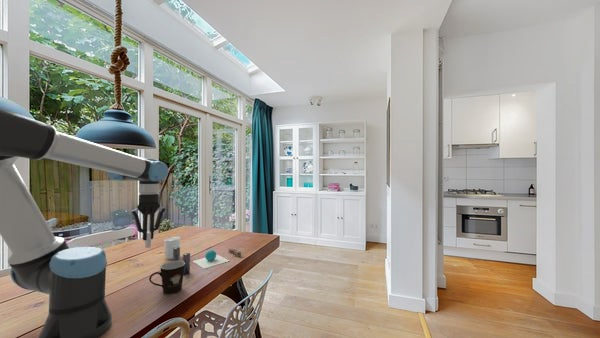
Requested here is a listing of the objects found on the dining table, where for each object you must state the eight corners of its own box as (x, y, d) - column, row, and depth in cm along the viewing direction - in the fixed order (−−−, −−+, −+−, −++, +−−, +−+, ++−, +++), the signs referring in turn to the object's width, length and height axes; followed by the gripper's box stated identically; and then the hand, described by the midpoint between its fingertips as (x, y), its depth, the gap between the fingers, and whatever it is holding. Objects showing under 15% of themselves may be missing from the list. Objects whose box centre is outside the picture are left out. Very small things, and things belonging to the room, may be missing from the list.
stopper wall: (240, 256, 129) (241, 252, 129) (237, 257, 127) (237, 252, 127) (231, 252, 136) (231, 248, 136) (228, 253, 134) (228, 248, 134)
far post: (180, 266, 115) (180, 247, 115) (174, 267, 113) (174, 249, 113) (178, 264, 117) (178, 246, 117) (171, 266, 115) (172, 247, 115)
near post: (190, 273, 106) (191, 254, 106) (184, 275, 104) (184, 255, 104) (188, 271, 108) (188, 252, 108) (181, 273, 106) (181, 254, 106)
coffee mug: (185, 283, 96) (186, 259, 97) (183, 293, 88) (183, 267, 89) (153, 288, 92) (154, 263, 92) (148, 299, 84) (148, 271, 84)
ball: (220, 253, 123) (211, 250, 120) (214, 263, 121) (206, 260, 118) (215, 250, 127) (207, 247, 124) (209, 260, 125) (201, 257, 122)
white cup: (160, 258, 125) (160, 240, 125) (171, 254, 133) (172, 236, 133) (172, 260, 123) (172, 241, 123) (183, 255, 131) (183, 237, 131)
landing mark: (229, 261, 122) (229, 260, 122) (203, 268, 111) (203, 268, 111) (217, 254, 131) (217, 254, 131) (192, 261, 121) (192, 261, 121)
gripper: (162, 192, 109) (161, 242, 108) (129, 193, 99) (127, 248, 99) (168, 193, 104) (167, 245, 103) (133, 194, 94) (131, 252, 93)
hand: (147, 247), depth 101 cm, fingers closed
